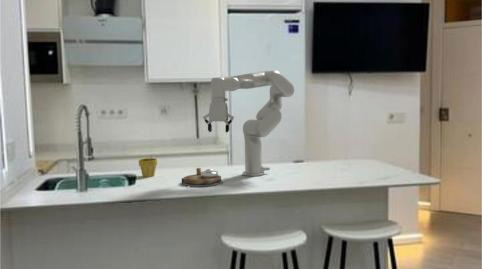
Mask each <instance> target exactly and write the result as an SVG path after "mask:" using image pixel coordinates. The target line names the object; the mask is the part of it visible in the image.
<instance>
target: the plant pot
mask: <svg viewBox="0 0 482 269" xmlns="http://www.w3.org/2000/svg"><path fill="white" fill-rule="evenodd" d="M157 165H158V159H157V158H156V157H155V158H152V157H149V158H148V157H146V158H140V159H139V160H138V166H139V167H140V170H141V175H142V177H143V178H151V177H152V178H153V177H154V176H155V174H156V169H157Z"/></svg>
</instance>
